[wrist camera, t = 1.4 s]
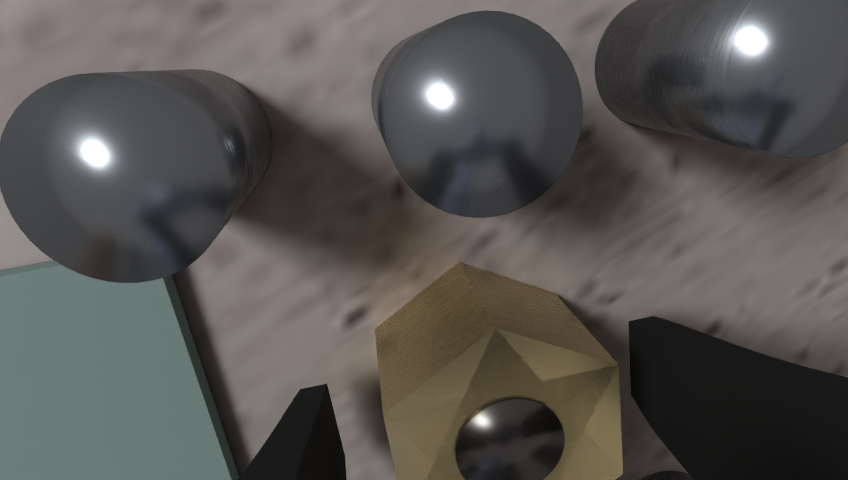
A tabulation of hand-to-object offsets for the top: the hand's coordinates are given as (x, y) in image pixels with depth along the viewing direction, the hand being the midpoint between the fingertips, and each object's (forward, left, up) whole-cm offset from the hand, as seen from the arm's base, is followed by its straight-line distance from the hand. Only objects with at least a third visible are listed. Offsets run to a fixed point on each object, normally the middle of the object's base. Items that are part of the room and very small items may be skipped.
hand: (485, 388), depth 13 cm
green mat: (0, +10, -1) cm, 10 cm away
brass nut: (0, 0, -2) cm, 2 cm away
